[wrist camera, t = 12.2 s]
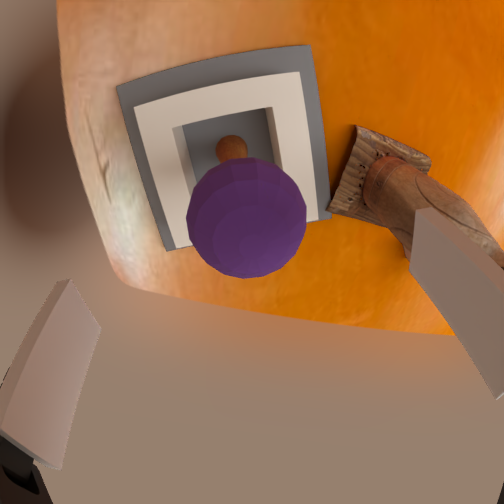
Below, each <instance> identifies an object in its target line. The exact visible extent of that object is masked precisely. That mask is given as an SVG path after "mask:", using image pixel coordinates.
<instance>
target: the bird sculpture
mask: <svg viewBox="0 0 504 504" xmlns="http://www.w3.org/2000/svg"><path fill="white" fill-rule="evenodd" d="M355 127H356V128H357V138H356V143H354V146H353V150H352V153H351V154H350V158H349V162H348V163H347V165H346V169H345V170H344V172H343V174H342V177H341V180H340V183H341V184H340V187H339V186H338V188H337V189H336V192H335V195H334V197H333V199H332V200H331V202H330V203H329V205H328V206H327V208H326V210H325V211H327V212H330V213H335V214H339V215H343V216H347V217H351V218H356V219H359V220H362V221H366V222H370V223H373V224H376V225H379V226H383V227H386V228H388V229H389V230H390V231H391V232H392V233H393V235H394V236H395V237H396V238H397V239H398V240H399V241H400V242H401V243H402V244H403V245H404V247H405V248H406V249H407V250H408V251H410V253H411V252H412V243H413V234H414V224H415V213H416V210H417V209H423V208H428V207H432V208H434V209H435V210H436V211H437V212H439V213H440V214H441V215H443V216H444V217H445V218H446V219H447V220H449V221H450V222H451V223H452V224H453V225H455V226H456V227H457V228H458V229H459V230H461V231H462V232H463V233H464V234H465V235H466V236H468V237H469V238H470V239H471V240H472V241H473V242H474V243H475V244H477V245H478V246H479V247H480V248H481V249H482V250H483V251H484V252H485V253H486V254H487V255H488V256H490V257H491V258H492V259H493V260H494V261H495V262H496V263H497V264H498V265H499V266H500V267H504V251H503V250H502V249H501V247H500V246H499V244H498V242H496V240H495V239H494V238H493V237H492V235H491V234H490V233H489V231H488V230H487V228H486V227H485V226H484V224H483V223H482V221H481V220H480V218H479V217H478V215H477V214H476V213H475V211H474V210H473V209H472V207H471V206H470V205H469V204H468V203H467V202H466V201H465V200H464V199H462V198H461V197H460V196H459V195H457V194H455V193H454V192H453V191H451V190H450V189H448V188H447V187H445V186H444V185H442V184H440V183H439V182H438V181H436V180H434V179H433V178H431V177H429V176H428V175H427V172H428V171H429V169H430V167H431V160H430V158H429V156H427V155H425V154H423V153H421V152H419V151H417V150H415V149H413V148H411V147H409V146H407V145H405V144H402V143H400V142H398V141H395V140H394V139H392V138H388V137H387V136H384V135H381V134H379V133H377V132H374V131H371V130H368V129H366V128H363V127H360V126H357V125H355ZM375 150H377V152H379V153H378V154H379V156H378V157H377V156H376V153H377V152H376V151H375ZM387 152H389V154H388V156H386V153H387ZM400 157H402V158H403V160H404V161H403V160H402V158H400ZM376 158H378V160H377V159H376ZM405 160H406V162H405ZM356 164H357V165H356ZM360 164H361V165H362V167H360V166H359V165H360ZM370 165H371V167H370ZM363 166H365V169H364V168H363ZM421 169H423V170H422V171H421ZM360 171H361V173H360V174H359V172H360ZM362 172H363V173H362ZM362 177H363V178H364V179H361V178H362ZM365 177H366V178H365ZM359 179H360V180H359ZM360 183H361V187H359V184H360ZM362 187H363V189H361V188H362ZM356 192H357V193H358V195H356V194H357V193H356ZM354 193H355V196H354ZM336 194H337V196H336ZM340 196H341V198H340ZM361 197H362V198H363V199H362V200H360V199H361ZM350 198H351V199H350ZM349 199H350V200H349ZM346 200H347V201H346ZM364 203H366V205H364Z"/></svg>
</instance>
